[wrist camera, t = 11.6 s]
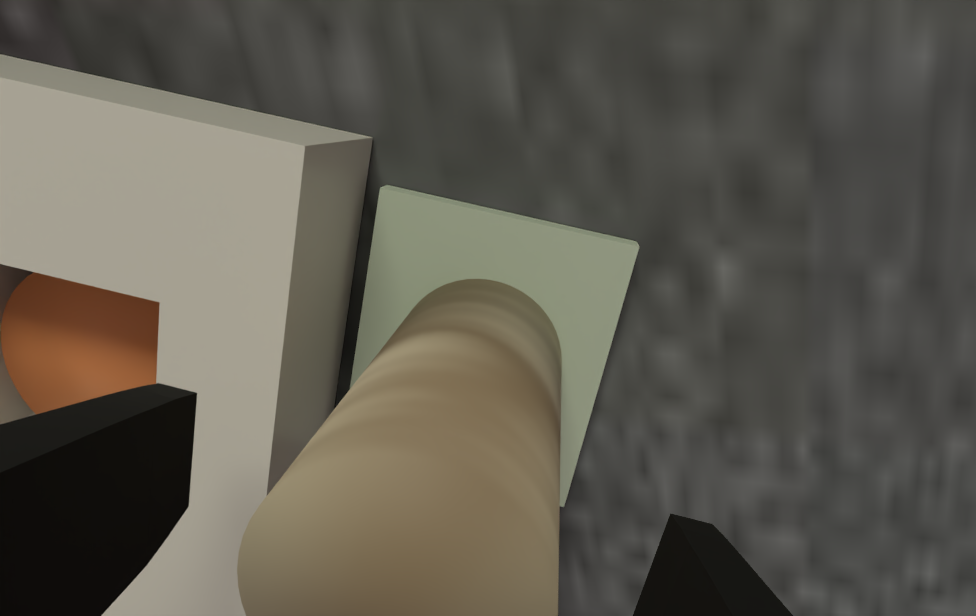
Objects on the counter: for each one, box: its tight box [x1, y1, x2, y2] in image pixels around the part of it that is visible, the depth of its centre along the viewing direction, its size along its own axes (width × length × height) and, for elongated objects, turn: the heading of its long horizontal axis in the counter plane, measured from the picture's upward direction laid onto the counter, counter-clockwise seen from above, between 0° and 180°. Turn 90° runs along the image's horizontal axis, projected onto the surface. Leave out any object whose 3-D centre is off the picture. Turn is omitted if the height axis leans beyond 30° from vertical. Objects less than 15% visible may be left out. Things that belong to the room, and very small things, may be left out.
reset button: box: [1, 272, 160, 414], centre depth 16 cm, size 5×5×1 cm
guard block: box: [0, 54, 373, 616], centre depth 15 cm, size 11×13×4 cm
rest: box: [350, 185, 639, 507], centre depth 16 cm, size 6×7×1 cm
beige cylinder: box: [237, 279, 562, 616], centre depth 11 cm, size 4×4×8 cm
